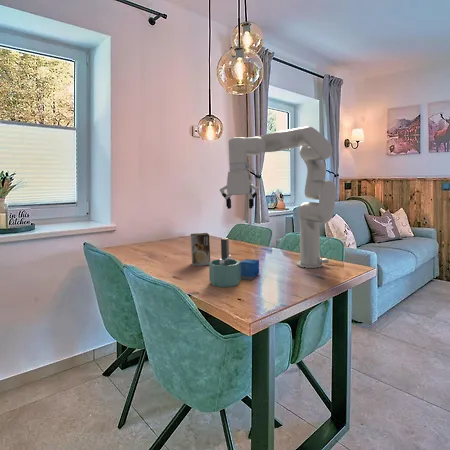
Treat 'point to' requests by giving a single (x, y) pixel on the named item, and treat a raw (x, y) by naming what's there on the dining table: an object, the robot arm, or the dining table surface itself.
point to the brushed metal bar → (225, 252)
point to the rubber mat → (247, 277)
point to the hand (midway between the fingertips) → (240, 208)
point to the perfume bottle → (249, 267)
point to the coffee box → (200, 249)
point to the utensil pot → (224, 273)
